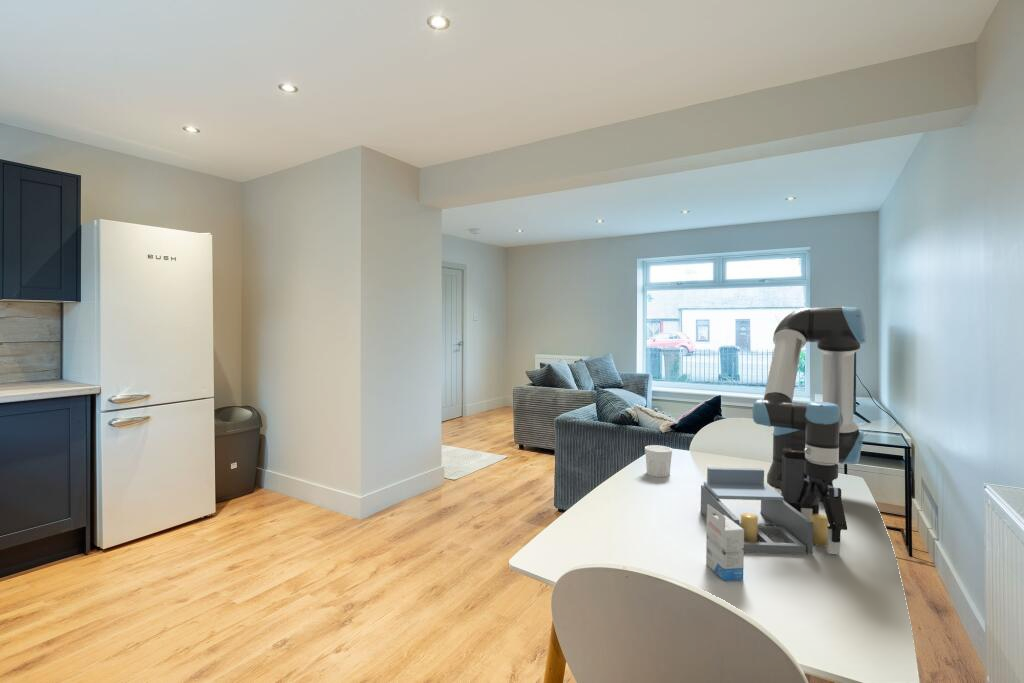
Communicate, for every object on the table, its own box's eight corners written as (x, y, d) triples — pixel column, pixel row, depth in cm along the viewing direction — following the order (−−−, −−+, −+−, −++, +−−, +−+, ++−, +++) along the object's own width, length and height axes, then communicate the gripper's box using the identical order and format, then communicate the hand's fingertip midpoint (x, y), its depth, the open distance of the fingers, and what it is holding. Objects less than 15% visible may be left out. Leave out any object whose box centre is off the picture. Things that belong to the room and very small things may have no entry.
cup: (675, 478, 182) (675, 451, 182) (648, 477, 182) (648, 451, 182) (667, 470, 192) (667, 445, 192) (641, 469, 192) (642, 445, 192)
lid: (764, 486, 147) (764, 468, 147) (783, 500, 135) (783, 481, 135) (703, 484, 149) (704, 467, 148) (717, 498, 137) (717, 479, 136)
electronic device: (814, 514, 147) (816, 449, 147) (819, 522, 142) (821, 454, 141) (780, 510, 150) (781, 446, 150) (783, 517, 145) (785, 451, 144)
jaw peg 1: (753, 538, 130) (753, 513, 130) (759, 545, 127) (760, 519, 126) (738, 538, 131) (738, 512, 131) (744, 545, 127) (744, 518, 127)
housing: (764, 513, 148) (765, 486, 148) (812, 554, 122) (813, 522, 121) (700, 511, 150) (701, 485, 149) (733, 551, 123) (734, 519, 123)
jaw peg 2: (822, 539, 130) (823, 514, 130) (831, 546, 126) (832, 520, 126) (807, 539, 130) (807, 513, 130) (815, 545, 126) (816, 519, 126)
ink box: (744, 581, 109) (745, 516, 109) (723, 581, 109) (724, 517, 108) (724, 562, 118) (725, 502, 117) (705, 563, 117) (706, 503, 117)
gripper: (783, 449, 140) (782, 522, 141) (833, 475, 116) (831, 563, 116) (810, 449, 139) (808, 523, 140) (866, 476, 115) (863, 565, 116)
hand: (818, 542), depth 128 cm, fingers open, 12 cm apart
